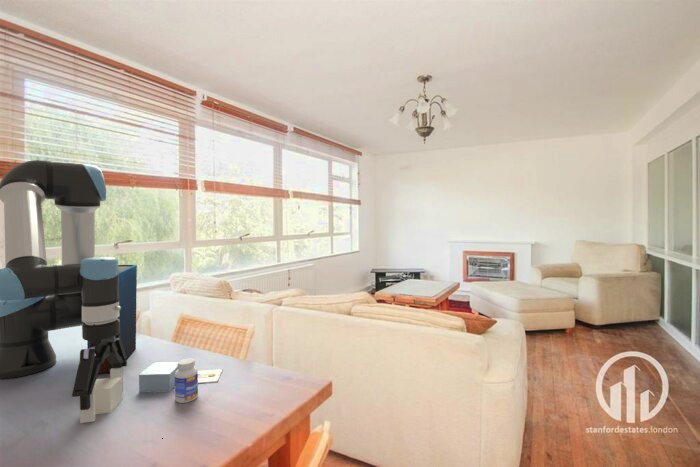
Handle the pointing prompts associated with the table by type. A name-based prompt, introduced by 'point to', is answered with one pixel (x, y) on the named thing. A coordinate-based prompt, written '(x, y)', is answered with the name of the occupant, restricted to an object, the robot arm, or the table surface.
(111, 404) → the cream cube
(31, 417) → the table surface
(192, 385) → the pill bottle
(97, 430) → the table surface
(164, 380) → the base block
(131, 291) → the book
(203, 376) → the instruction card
